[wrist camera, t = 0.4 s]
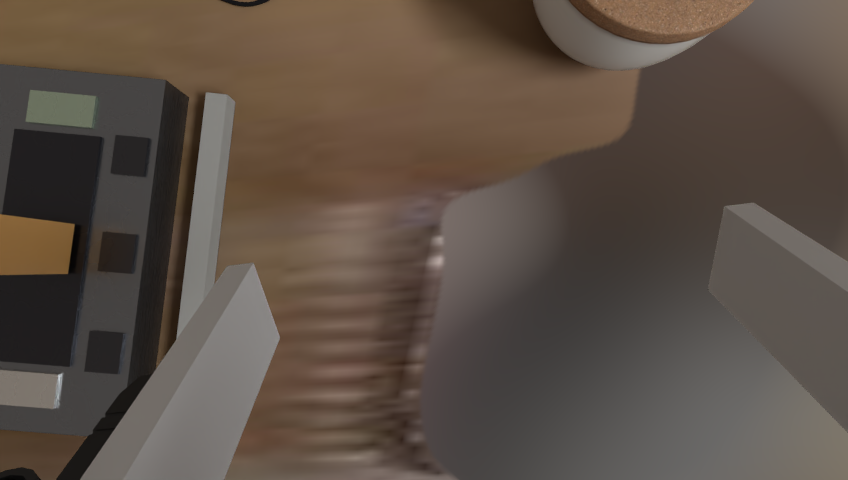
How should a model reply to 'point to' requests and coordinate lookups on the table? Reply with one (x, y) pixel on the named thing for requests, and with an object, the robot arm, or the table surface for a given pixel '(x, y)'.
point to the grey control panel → (85, 239)
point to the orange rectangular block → (34, 246)
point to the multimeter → (259, 1)
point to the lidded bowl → (631, 28)
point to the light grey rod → (207, 204)
